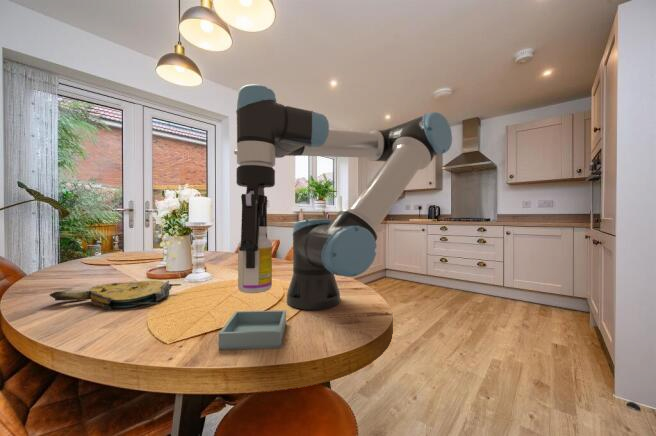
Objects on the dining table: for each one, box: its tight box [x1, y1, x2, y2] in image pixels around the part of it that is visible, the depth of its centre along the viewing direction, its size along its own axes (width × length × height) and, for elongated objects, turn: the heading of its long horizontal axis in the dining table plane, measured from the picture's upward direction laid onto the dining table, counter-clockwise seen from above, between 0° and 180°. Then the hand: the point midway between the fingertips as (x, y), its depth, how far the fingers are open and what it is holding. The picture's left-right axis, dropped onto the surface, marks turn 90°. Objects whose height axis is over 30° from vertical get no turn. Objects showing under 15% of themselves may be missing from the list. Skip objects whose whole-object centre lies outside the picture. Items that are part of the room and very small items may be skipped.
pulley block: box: [49, 280, 182, 311], centre depth 75 cm, size 14×6×30 cm
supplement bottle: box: [237, 226, 273, 294], centre depth 55 cm, size 7×7×13 cm
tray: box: [218, 310, 287, 351], centre depth 55 cm, size 11×11×3 cm
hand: (255, 279), depth 55 cm, fingers closed on supplement bottle, 7 cm apart
